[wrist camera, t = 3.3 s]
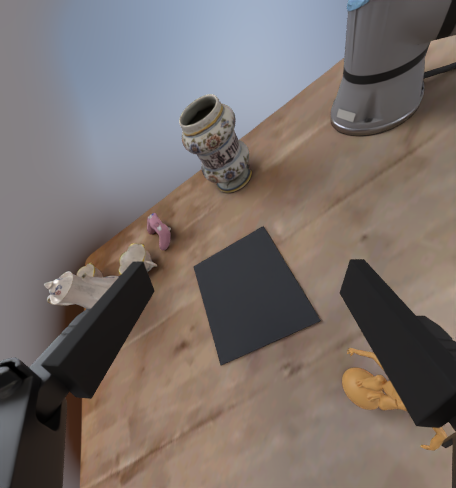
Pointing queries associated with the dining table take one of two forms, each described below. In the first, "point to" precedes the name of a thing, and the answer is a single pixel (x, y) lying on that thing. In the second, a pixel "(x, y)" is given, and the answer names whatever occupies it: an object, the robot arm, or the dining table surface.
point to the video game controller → (159, 230)
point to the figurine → (378, 393)
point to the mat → (251, 296)
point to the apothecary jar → (216, 143)
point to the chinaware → (92, 280)
